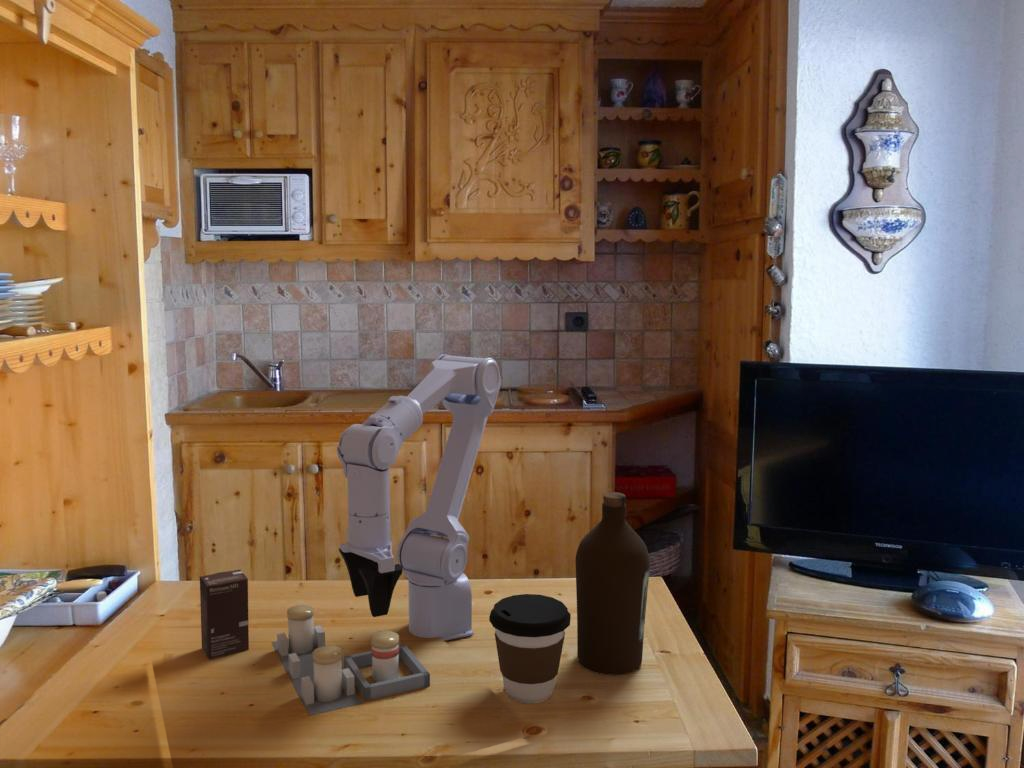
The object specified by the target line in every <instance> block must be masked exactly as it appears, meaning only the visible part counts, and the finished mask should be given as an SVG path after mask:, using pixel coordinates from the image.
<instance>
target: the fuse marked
mask: <svg viewBox="0 0 1024 768" xmlns="http://www.w3.org/2000/svg"><path fill="white" fill-rule="evenodd" d="M370 645H371V647H370V648H371V650H370V651H371V652H372V665H371V673H372V675H371V677H372V678H371V679H372V681H373V682H374V683H377V682H382V681H386V680H391V679H395V678H400V677H399V676H400V673H399V671H400V670H399V667H400V666H399V659H398V653H399V645H400V635H399V634H398V633H397V632H395V631H391V630H382V631H378V632H375V633H373V634H372V635H371V636H370Z"/></svg>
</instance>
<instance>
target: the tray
mask: <svg viewBox="0 0 1024 768" xmlns="http://www.w3.org/2000/svg"><path fill="white" fill-rule="evenodd" d="M398 660H401V661H402V662H403V663H404V664H405V665H406V666H407V668H408V669H409V670H410V671H411V673H412V674H410V675H405V676H401V677H398V678H395V679H391V680H386V681H382V682H372V683H369V682H368V680H367V679H366V677H365V676H364V674H363V673H362V671H361V670H360V669H359V668H363V667H369V666H372V652H371V650H369V651H364V652H360V653H353V654H348V655H344V656H343V669H346V668H349V669H350V671H351V672H352V674H353V675H354V686H355V687H356V688H357V690H358V691H359V694H360V695H361V697H362V698H363V699H364V700H365V702H366V701H370V700H375V699H378V698H384V697H389V696H392V695H393V696H394V695H397V694H401V693H406V692H410V691H415V690H418V689H424V688H428V687H431V673H430V672H429V671H428V670H427V669H426V667H425V666H424V665H423V664H422V663H421V662H420V661H419V660H418V658H417V657H416V656H415V655H414V653H413V652H412V651H411V649H409V647H408V646H407V645H406V644H405V643H402V644H399V653H398Z"/></svg>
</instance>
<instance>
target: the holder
mask: <svg viewBox="0 0 1024 768" xmlns="http://www.w3.org/2000/svg"><path fill="white" fill-rule="evenodd" d="M313 629H314V649H313V650H312V651H310V652H308V653H305V654H296V653H291V652H290V651H289V638H288V636H287V635H286V633H285V631H281V632H277V633H276V639H277V640H276V641H271V644H272V646H273V648H274V651H275V652H276V654H277V656H278V658H279V659H280V661H281V663H282V665H283V668H284V669H285V671H286V673H287V675H288V677H289V679H290V682H291V683H292V685H293V687H294V689H295V691H296V692H297V695H298V697H299V698H300V700H301V703H302V705H303V706H304V709H305V710H306V712H307V714H308V716H310V717H311V716H315V715H319V714H322V713H328V712H331V711H336V710H341V709H345V708H349V707H354V706H357V705H358V706H359V705H362V704H363V703H364V702H363V701H362V699H361V698H360V696H359V694H358V693H357V692H356V690H355V689H356V688H355V687H356V685H355V684H354V675H353V674H352V672H351V671H350V669H349V668H346V669H344V668H343V669H342V696H341V697H340V698H339V699H337V700H334V701H330V702H321V701H318V700H316V699H315V698H314V667H313V658H312V653H313V651H314V650H315V649H317V648H319V647H322V646H327V644H326V632H325V630H324V628H323V627H322V625H320V624H318V625H313ZM332 646H335V645H332Z"/></svg>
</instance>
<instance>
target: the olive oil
mask: <svg viewBox="0 0 1024 768" xmlns="http://www.w3.org/2000/svg"><path fill="white" fill-rule="evenodd" d="M602 498H603V502H602V503H601V505H602V506H601V520H600V521H599V522H598V523H597V524H596V525H595V526H594V527H593V528H591V530H589V531H588V532H587V534H585V536H584V537H583V538H582V539H581V540H580V542H579V545H578V547H577V550H576V554H575V583H576V585H575V586H576V587H575V588H576V591H575V592H576V623H577V625H576V626H577V627H576V629H577V630H576V631H577V632H576V633H577V634H576V635H577V636H576V637H577V640H576V641H577V643H576V644H577V649H576V650H577V651H576V652H577V653H576V654H577V661H578V663H579V665H581V667H583V668H585V669H586V670H588V671H590V672H593V673H597V674H601V675H607V676H620V675H627V674H630V673H633V672H635V671H636V670H638V669H640V667H641V665H642V662H643V651H644V636H645V625H646V622H645V621H646V611H647V603H648V602H647V600H648V592H649V591H648V590H649V578H650V570H651V569H650V568H651V565H650V564H651V563H650V562H651V561H650V554H649V551H648V547H647V545H646V543H645V541H644V540H643V539H642V538H641V536H640V535H638V533H637V531H635V530H634V529H633V527H632V526H630V524H629V523H628V522H627V520H626V517H627V516H626V513H627V504H626V498H627V496H626V495H625V494H624V493H621V492H616V491H613V492H612V491H610V492H609V491H608V492H605V493H604V494H603V495H602Z"/></svg>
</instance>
